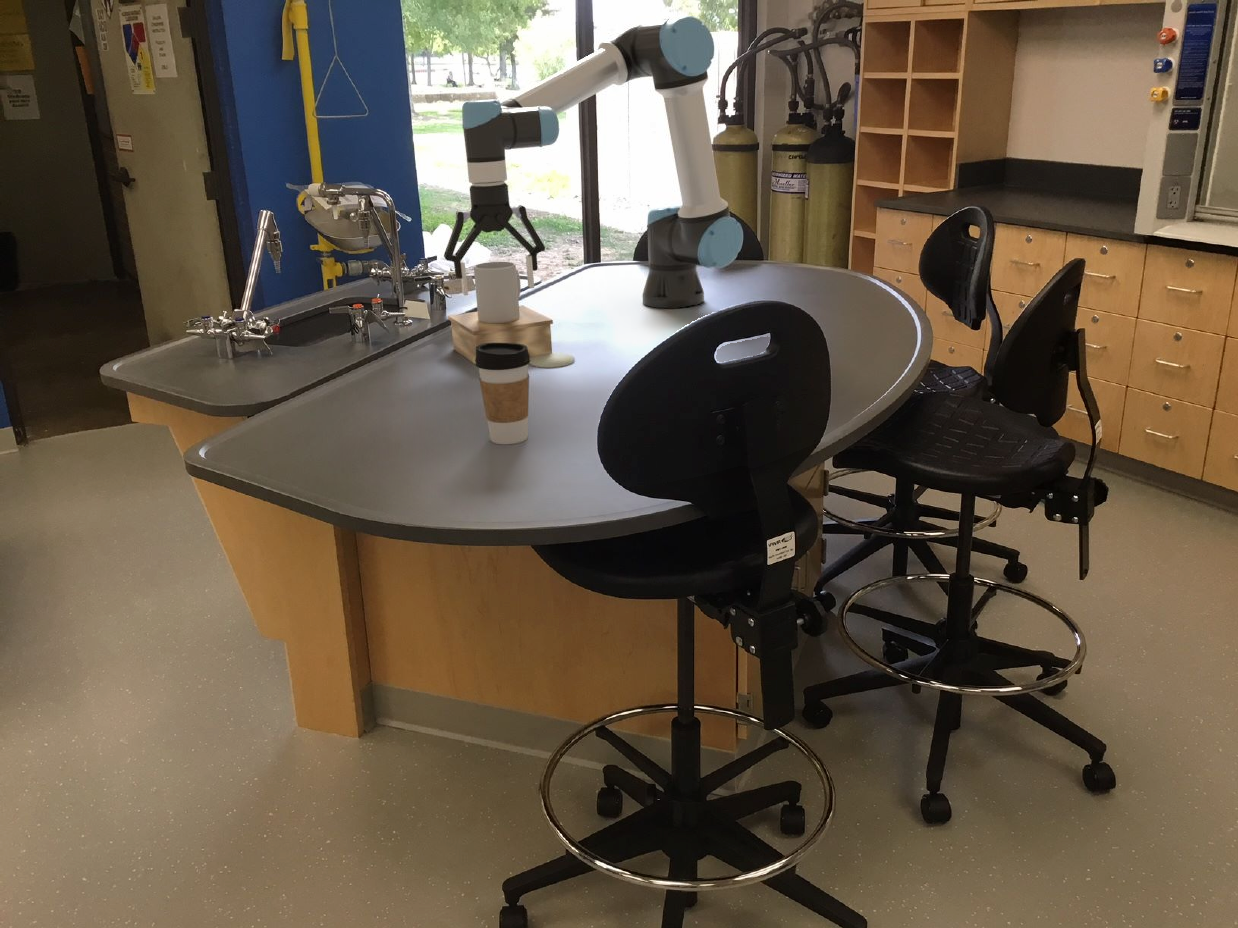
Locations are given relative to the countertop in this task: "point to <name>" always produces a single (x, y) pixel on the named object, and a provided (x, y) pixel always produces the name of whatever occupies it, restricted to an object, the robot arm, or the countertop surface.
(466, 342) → the maple box
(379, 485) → the countertop surface
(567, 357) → the felt coaster
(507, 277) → the mug
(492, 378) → the coffee cup
